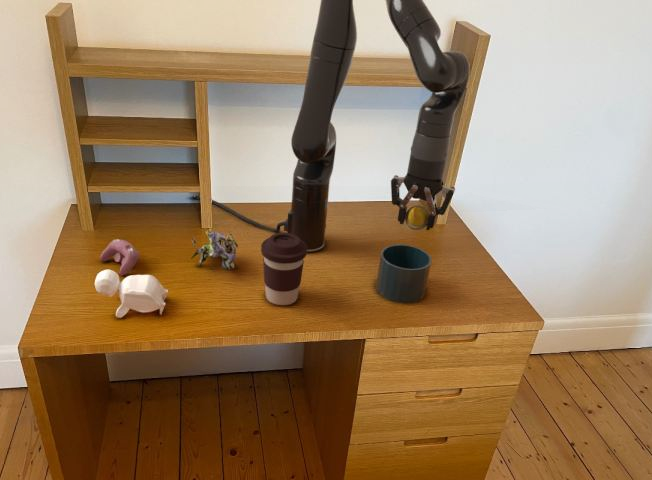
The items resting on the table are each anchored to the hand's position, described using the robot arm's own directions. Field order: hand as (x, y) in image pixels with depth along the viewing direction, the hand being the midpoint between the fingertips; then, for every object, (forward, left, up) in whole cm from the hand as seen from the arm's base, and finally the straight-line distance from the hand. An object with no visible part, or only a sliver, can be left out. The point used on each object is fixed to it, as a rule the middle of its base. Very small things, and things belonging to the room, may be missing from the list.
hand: (415, 225), depth 131 cm
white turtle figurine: (-52, -35, -17) cm, 65 cm away
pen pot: (-1, -1, -17) cm, 17 cm away
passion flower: (-45, -12, -17) cm, 49 cm away
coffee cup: (-25, -17, -17) cm, 34 cm away
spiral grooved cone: (+1, 0, -1) cm, 1 cm away
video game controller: (-65, -22, -17) cm, 70 cm away
